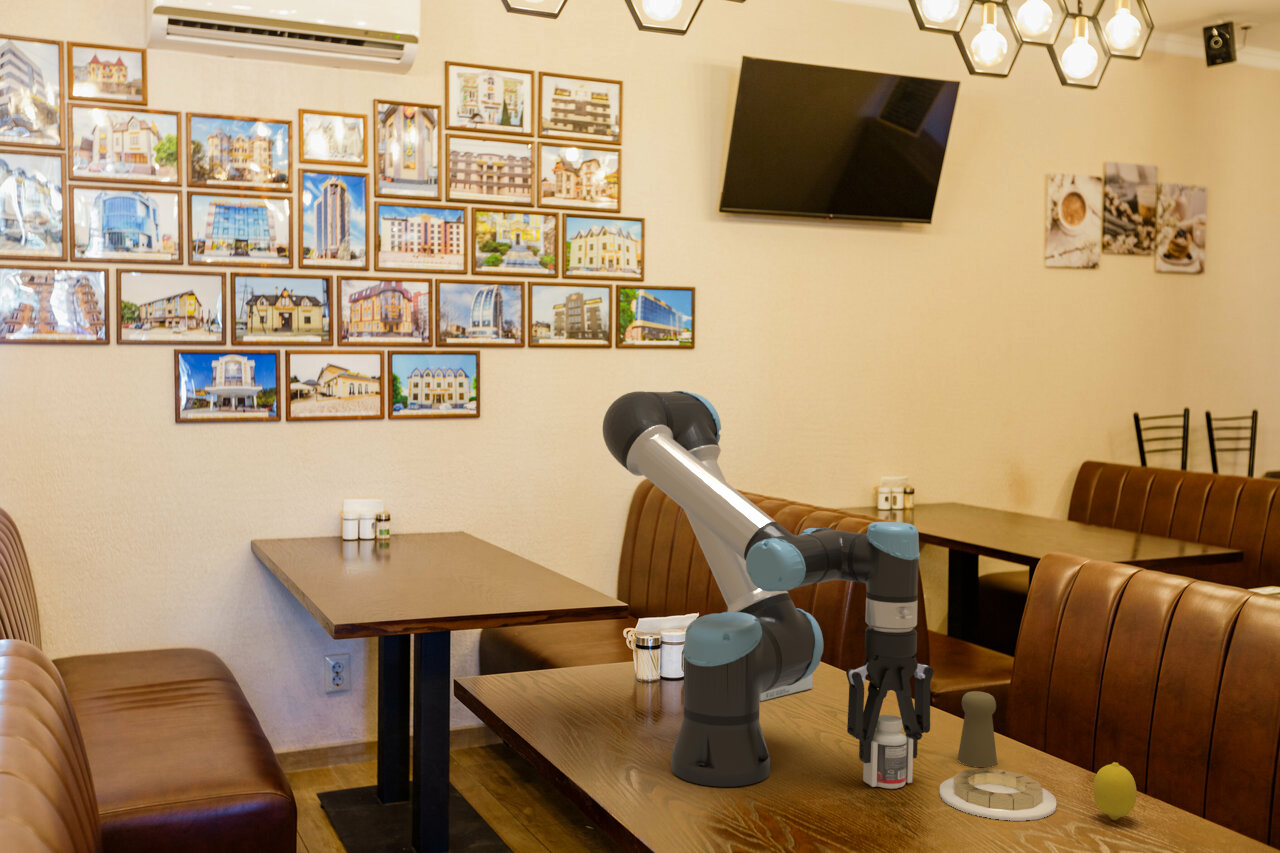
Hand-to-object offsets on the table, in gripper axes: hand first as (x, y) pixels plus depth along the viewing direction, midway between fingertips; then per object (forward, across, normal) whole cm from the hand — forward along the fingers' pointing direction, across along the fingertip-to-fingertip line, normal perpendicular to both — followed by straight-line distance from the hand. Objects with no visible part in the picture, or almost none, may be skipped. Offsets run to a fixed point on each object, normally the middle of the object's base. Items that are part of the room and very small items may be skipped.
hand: (887, 781), depth 166 cm
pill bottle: (0, 0, 0) cm, 0 cm away
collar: (0, +12, -10) cm, 16 cm away
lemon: (+1, +23, -21) cm, 31 cm away
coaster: (0, +12, -10) cm, 16 cm away
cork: (+1, +19, +5) cm, 20 cm away
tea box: (+1, +4, +52) cm, 52 cm away
